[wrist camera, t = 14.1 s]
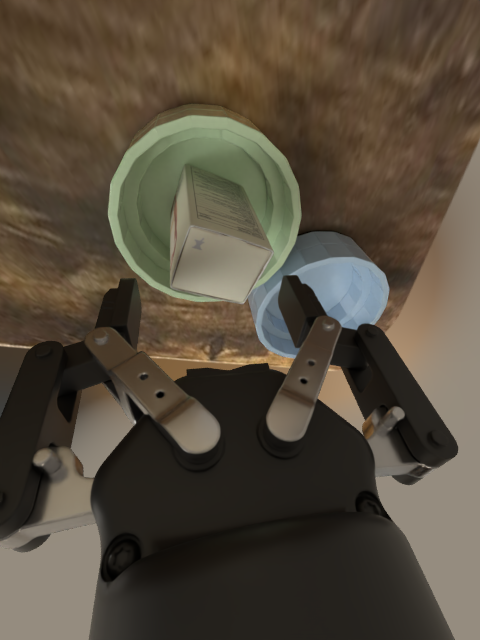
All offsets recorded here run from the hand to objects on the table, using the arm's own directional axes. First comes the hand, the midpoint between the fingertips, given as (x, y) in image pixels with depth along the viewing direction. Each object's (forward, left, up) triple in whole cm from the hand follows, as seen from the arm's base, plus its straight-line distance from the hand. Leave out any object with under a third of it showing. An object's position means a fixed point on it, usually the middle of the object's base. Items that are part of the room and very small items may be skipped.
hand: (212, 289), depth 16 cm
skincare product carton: (0, +1, -11) cm, 11 cm away
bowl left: (0, 0, -11) cm, 11 cm away
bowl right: (+11, -9, -11) cm, 18 cm away
